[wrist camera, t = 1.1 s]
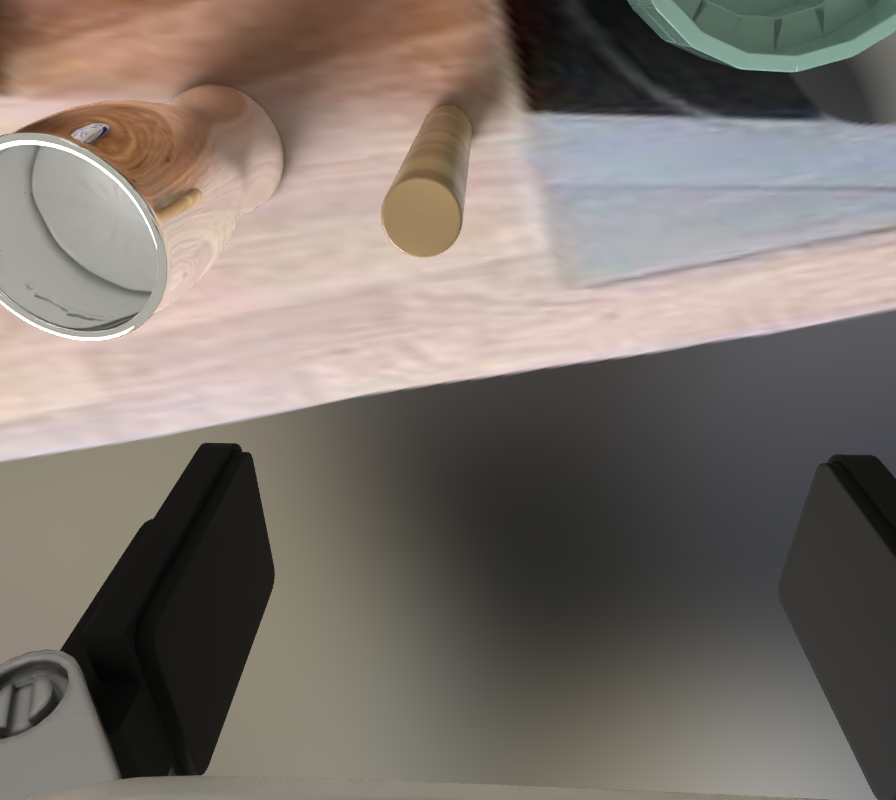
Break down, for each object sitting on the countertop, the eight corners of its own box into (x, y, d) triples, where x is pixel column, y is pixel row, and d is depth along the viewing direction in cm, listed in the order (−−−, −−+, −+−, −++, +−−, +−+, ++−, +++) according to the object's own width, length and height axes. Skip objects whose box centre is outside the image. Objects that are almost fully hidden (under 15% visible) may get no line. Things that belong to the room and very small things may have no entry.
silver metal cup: (205, 38, 31) (4, 67, 18) (321, 151, 33) (217, 247, 20) (127, 150, 34) (-95, 243, 21) (239, 247, 36) (102, 385, 23)
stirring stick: (416, 113, 32) (369, 189, 19) (464, 98, 32) (450, 166, 19) (430, 163, 33) (394, 266, 20) (477, 150, 33) (471, 247, 20)
